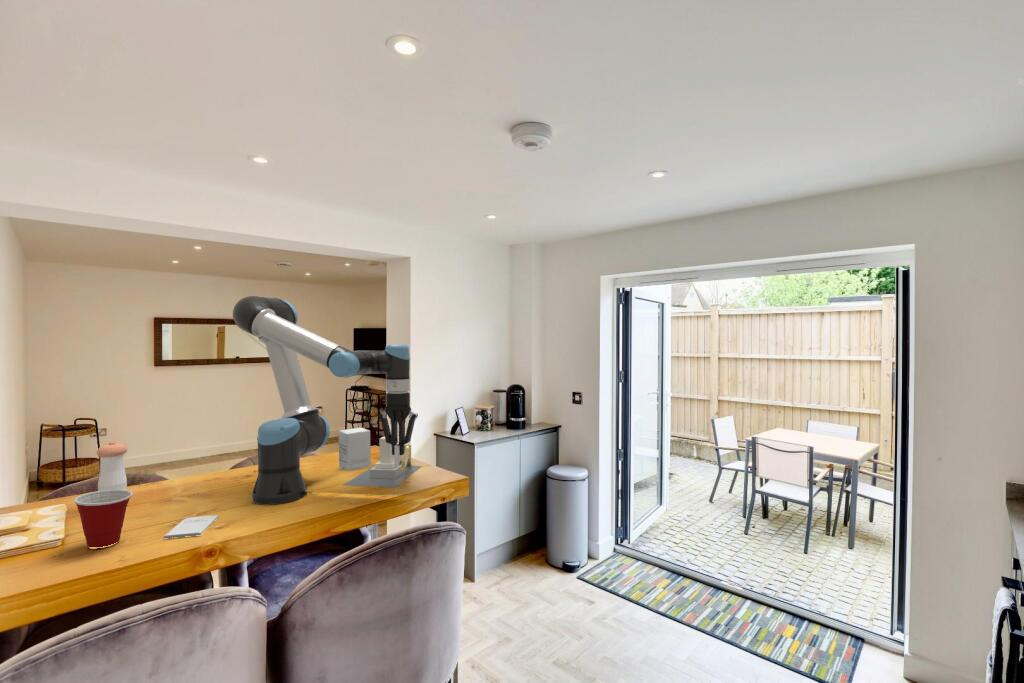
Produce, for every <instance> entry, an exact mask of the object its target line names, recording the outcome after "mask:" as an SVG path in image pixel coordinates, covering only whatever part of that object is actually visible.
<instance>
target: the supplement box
mask: <svg viewBox="0 0 1024 683" xmlns="http://www.w3.org/2000/svg"><path fill="white" fill-rule="evenodd" d="M371 454H372V453H371V430H369V429H366V428H364V427H356V428H355V427H354V428H347V429H340V430H338V470H339V471H341V470H345V471H353V470H359V469H365V468H371V467H372V458H371V457H372V456H371Z"/></svg>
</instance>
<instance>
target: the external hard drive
mask: <svg viewBox="0 0 1024 683" xmlns="http://www.w3.org/2000/svg"><path fill="white" fill-rule="evenodd" d="M217 518H218V519H219V515H207V516H206V515H203V516H193V517H191V516H190V517H185V518H184V519H182V520H181V521H180V522H179V523H178V524H176V525H175V526H174V527H173V528H171V529H170V531H168V532H167V533H166V534H165V535H164V536H163V539H164V538H172V537H173V538H174V537H185V536H196V535H201V534H202V533H203V532H204V531H205V530H206V529H207V528H208V527H209V526H210V525H211V524H212V523H213V522H214V521H215V520H216V519H217ZM218 519H217V520H218ZM217 520H216V521H217ZM216 521H215V522H216ZM215 522H214V523H215ZM214 523H213V524H214ZM213 524H212V525H213Z"/></svg>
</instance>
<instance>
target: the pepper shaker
mask: <svg viewBox="0 0 1024 683" xmlns="http://www.w3.org/2000/svg"><path fill="white" fill-rule="evenodd" d="M127 451H128V447H127V445H126V444H124V443H122V442H121V443H120V442H119V443H118V442H116V441H113V440H112V441H109V442H108V444H103V445H101V446H99V448H98V449H96V455H97V457H99V459H100V460H99V465H100V466H99V469H100V470H99V475H98V476H99V477H98V483H97V491H102V490H120V489H121V490H128V479H127V474H126V470H125V454H126V453H127Z"/></svg>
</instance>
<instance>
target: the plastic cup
mask: <svg viewBox="0 0 1024 683" xmlns="http://www.w3.org/2000/svg"><path fill="white" fill-rule="evenodd" d="M132 496H133V491H131V490H128V489H127V490H121V489H120V490H102V491H98V490H97V491H91V492H86V493H84V494H81V495H78V496H77V497H75V498H74V501H73V503H74V504H76V506H77V510H78V514H79V517H80V522H81V526H82V530H83V535H84V536H85V541H86V542H85V543H86V545H87V547H88V546H89V547H103V546H108V545H111V544H114V543H116V542H118V541H119V542H120V540H121V535H122V529H123V526H124V523H125V522H124V521H125V516H126V511H127V507H128V505H129V504H128V502H129V501H130V499H131V498H132ZM129 503H130V502H129ZM127 504H128V505H127ZM119 542H118V543H119Z"/></svg>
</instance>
